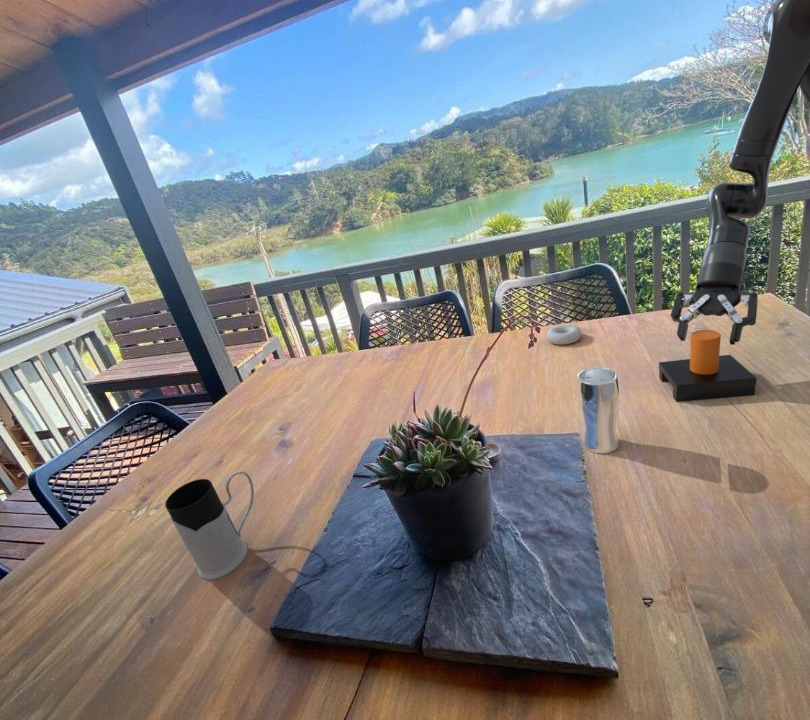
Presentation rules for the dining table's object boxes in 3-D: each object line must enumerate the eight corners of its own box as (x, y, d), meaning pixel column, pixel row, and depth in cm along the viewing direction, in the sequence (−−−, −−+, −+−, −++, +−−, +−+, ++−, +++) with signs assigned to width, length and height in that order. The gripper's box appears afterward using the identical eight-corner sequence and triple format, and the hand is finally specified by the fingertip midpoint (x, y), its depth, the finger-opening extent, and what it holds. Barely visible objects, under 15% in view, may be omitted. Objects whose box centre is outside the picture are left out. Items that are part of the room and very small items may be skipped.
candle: (712, 362, 93) (714, 328, 90) (722, 373, 89) (725, 337, 86) (685, 365, 95) (687, 331, 91) (695, 376, 90) (696, 340, 87)
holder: (191, 563, 79) (154, 500, 73) (260, 514, 87) (232, 453, 81) (208, 588, 72) (170, 521, 67) (281, 533, 81) (253, 468, 75)
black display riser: (728, 370, 96) (730, 354, 95) (755, 395, 86) (756, 377, 85) (658, 377, 100) (658, 362, 98) (676, 402, 90) (676, 385, 89)
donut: (545, 335, 135) (547, 348, 127) (544, 325, 134) (546, 337, 125) (579, 331, 132) (584, 344, 124) (579, 321, 131) (583, 333, 122)
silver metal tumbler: (585, 431, 88) (580, 365, 82) (623, 436, 84) (621, 367, 78) (578, 452, 83) (572, 383, 77) (618, 458, 79) (616, 386, 73)
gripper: (679, 262, 93) (663, 332, 91) (764, 259, 83) (749, 337, 81) (685, 278, 98) (670, 344, 96) (766, 277, 89) (751, 351, 86)
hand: (706, 341), depth 88 cm, fingers open, 8 cm apart
